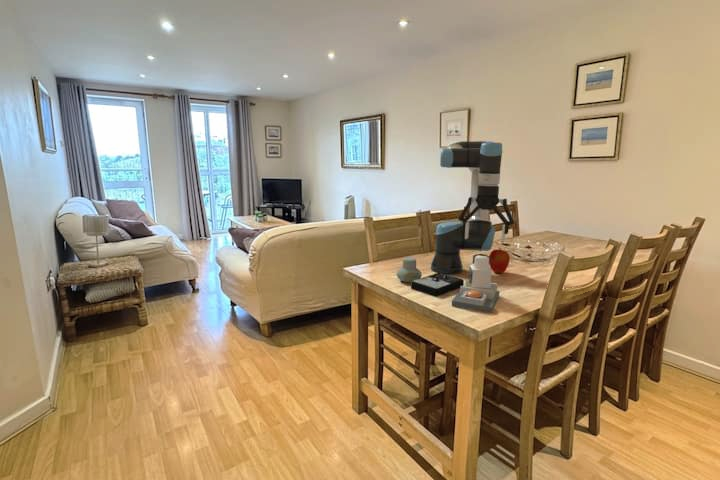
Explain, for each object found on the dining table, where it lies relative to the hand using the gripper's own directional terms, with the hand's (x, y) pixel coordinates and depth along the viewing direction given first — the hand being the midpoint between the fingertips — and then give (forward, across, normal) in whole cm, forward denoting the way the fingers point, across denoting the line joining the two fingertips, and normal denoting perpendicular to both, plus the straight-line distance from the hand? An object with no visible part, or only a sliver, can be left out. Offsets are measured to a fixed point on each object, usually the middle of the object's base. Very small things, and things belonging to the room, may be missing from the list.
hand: (484, 240), depth 145 cm
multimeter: (+23, -17, -1) cm, 28 cm away
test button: (+19, 0, -14) cm, 23 cm away
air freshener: (+22, -31, +2) cm, 38 cm away
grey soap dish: (+22, 0, -9) cm, 23 cm away
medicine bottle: (+17, 0, -4) cm, 18 cm away
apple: (+23, +2, +34) cm, 41 cm away
